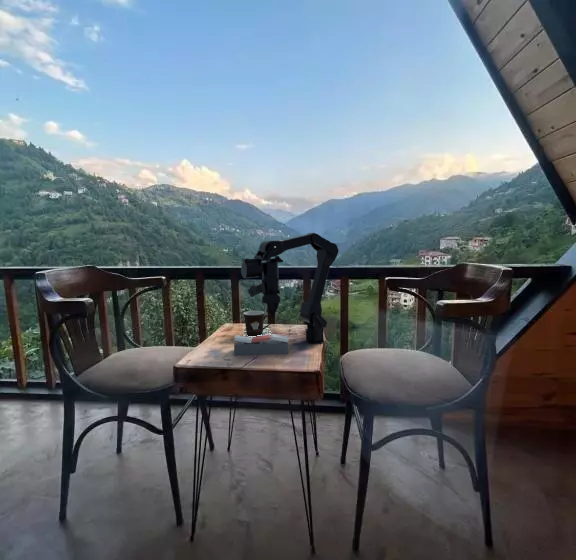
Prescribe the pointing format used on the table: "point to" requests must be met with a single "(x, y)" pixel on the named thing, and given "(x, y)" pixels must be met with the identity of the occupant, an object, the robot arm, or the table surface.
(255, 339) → the red block
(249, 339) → the white rectangular block
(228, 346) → the table surface
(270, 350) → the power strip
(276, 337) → the block
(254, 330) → the coffee mug
